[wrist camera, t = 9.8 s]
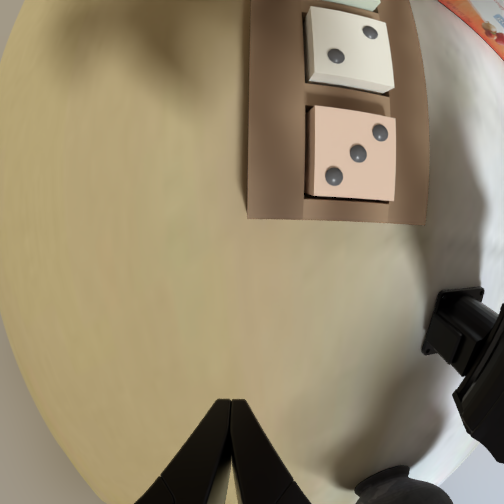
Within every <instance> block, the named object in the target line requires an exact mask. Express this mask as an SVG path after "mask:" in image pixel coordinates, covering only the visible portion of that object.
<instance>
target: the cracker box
mask: <svg viewBox="0 0 504 504" xmlns="http://www.w3.org/2000/svg"><path fill="white" fill-rule="evenodd" d="M438 1H439V2H441V3H442V4H443V5H445V6H446V7H447V8H449V9H450V10H451V11H452V12H454V13H455V14H456V15H457V16H458V17H460V18H461V19H462V20H463V21H464V22H465V23H467V24H468V25H469V26H470V27H471V28H472V29H473V30H474V31H475V32H476V33H478V34H479V35H480V36H481V37H482V38H483V39H484V40H485V41H486V42H487V43H488V44H489V45H490V46H491V47H492V48H493V49H494V50H495V51H496V53H497V54H498V55H499V56H500V57H501V58H502V59H503V60H504V0H438Z"/></svg>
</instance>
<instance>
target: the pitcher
mask: <svg viewBox="0 0 504 504" xmlns="http://www.w3.org/2000/svg"><path fill="white" fill-rule="evenodd" d="M409 470H410V468H409V467H408V466H398V467H394V468H391V469H387V470H385V471H382V472H380V473H377V474H375V475H373V476H372V477H370V478H368V479H366V480H364V481H363V482H361V483H360V484H359V485H358V486H357V487H356V488H355V494H356V495H358V496H359V497H360V498H359V499H358V501H357V502H356V504H453V502H452V500H451V499H450V497H449V496H448V495H447V494H446V493H445V492H444V491H443V490H442V489H441V488H439V487H438V486H436V485H434V484H431V483H428V482H424V481H420V480H415V479H411V478H409V477H408V475H409Z"/></svg>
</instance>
